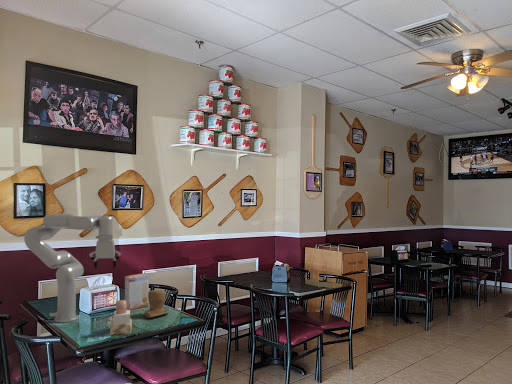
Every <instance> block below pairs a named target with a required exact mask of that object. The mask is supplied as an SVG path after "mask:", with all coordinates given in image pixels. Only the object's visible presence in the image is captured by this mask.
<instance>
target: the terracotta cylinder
mask: <svg viewBox="0 0 512 384" xmlns="http://www.w3.org/2000/svg"><path fill="white" fill-rule="evenodd" d="M126 310H127V309H126V300H125V299H122V300H121V299H120V300H117V301H116V302H115V311H116V314H124V313H126Z"/></svg>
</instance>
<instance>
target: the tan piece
mask: <svg viewBox="0 0 512 384" xmlns="http://www.w3.org/2000/svg"><path fill="white" fill-rule="evenodd" d="M148 299H149V310H147V311H145V312H144V313H143V314H144V316H145V317H146V318H148V319H150V318H155V317H159V316H163V315H166V314H169V313H170V311H169V310H167V309H165V308H164V305H165V301H166V292H165V290H164V289H157V290H149V292H148Z"/></svg>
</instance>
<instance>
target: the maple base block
mask: <svg viewBox="0 0 512 384" xmlns="http://www.w3.org/2000/svg"><path fill="white" fill-rule="evenodd" d="M109 327H110V328H109V329H110V330H109V335H110V336H111V335H112V336H114V334H116V335H127V334H128V333H130V334H131V332H132V328H133V319H132V318H130V324H121V325H114V319H112V321H111V322H110V326H109ZM128 335H129V334H128Z"/></svg>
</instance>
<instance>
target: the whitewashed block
mask: <svg viewBox="0 0 512 384" xmlns="http://www.w3.org/2000/svg"><path fill="white" fill-rule="evenodd" d="M130 319H131V310H127V309H126V313H124V314H116V310H114V312H113V320H114V325H121V324H130Z"/></svg>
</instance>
